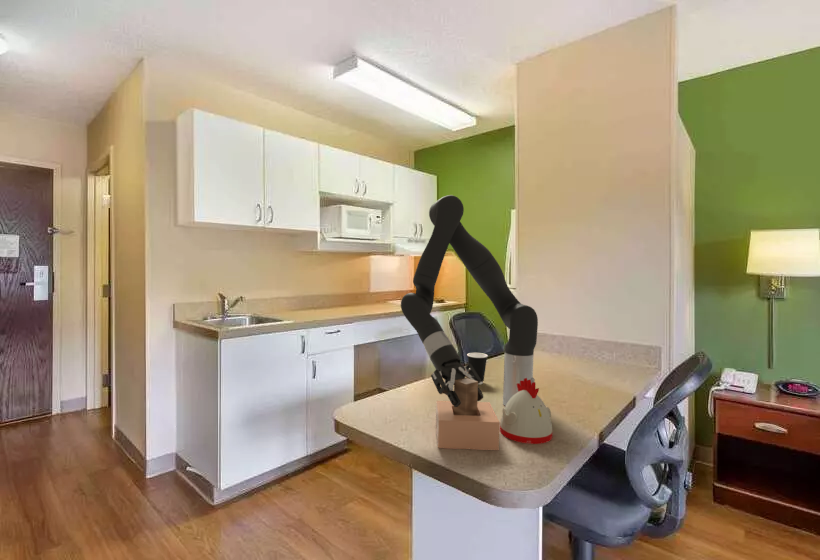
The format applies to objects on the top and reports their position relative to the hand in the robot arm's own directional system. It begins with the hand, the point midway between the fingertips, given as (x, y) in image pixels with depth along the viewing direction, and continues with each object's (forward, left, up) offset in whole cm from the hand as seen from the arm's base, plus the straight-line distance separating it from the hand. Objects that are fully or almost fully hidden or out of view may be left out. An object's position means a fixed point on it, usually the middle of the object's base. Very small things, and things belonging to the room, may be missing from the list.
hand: (469, 402), depth 109 cm
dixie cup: (-9, -53, -10) cm, 55 cm away
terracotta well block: (+1, -1, -10) cm, 10 cm away
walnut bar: (+1, -1, -9) cm, 9 cm away
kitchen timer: (-16, -5, -10) cm, 20 cm away
